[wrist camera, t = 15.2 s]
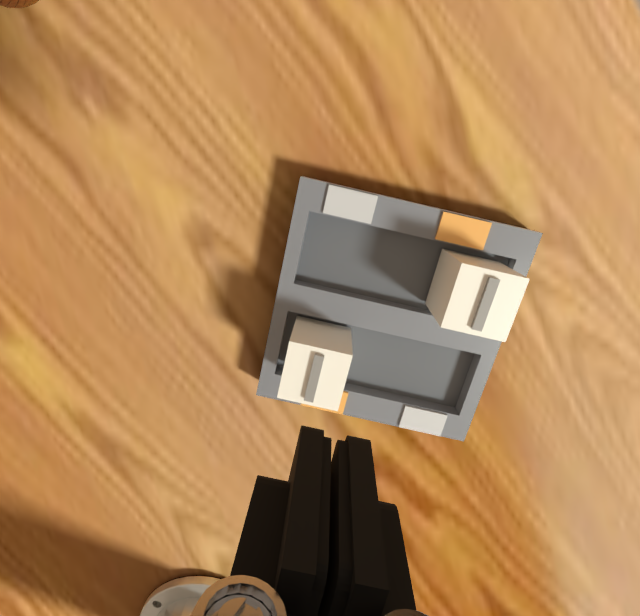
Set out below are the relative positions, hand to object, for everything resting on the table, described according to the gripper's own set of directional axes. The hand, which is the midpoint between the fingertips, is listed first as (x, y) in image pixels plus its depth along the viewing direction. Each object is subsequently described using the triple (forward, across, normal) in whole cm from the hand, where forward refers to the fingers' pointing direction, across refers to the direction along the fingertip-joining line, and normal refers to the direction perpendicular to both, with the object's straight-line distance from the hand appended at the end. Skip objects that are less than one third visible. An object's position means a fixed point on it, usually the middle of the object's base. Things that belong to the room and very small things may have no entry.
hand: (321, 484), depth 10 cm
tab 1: (+21, -9, -2) cm, 23 cm away
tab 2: (+21, 0, +5) cm, 22 cm away
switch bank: (+22, -4, +1) cm, 23 cm away
